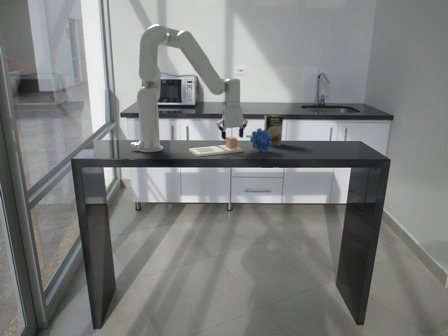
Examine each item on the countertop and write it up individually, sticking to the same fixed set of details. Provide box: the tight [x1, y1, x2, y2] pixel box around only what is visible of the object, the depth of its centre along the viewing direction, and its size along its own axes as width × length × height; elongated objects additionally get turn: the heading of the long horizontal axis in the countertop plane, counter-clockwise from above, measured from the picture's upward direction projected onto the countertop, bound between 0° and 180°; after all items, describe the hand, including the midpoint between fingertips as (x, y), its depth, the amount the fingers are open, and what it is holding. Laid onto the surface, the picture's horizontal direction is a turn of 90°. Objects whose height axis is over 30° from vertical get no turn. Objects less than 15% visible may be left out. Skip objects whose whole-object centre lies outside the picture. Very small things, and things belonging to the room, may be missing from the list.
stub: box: [218, 136, 243, 154], centre depth 182 cm, size 8×12×6 cm, turn 25°
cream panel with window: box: [188, 145, 229, 157], centre depth 177 cm, size 16×12×1 cm
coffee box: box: [263, 114, 284, 147], centre depth 193 cm, size 9×6×16 cm
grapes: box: [249, 127, 273, 153], centre depth 177 cm, size 12×7×12 cm, turn 102°
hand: (232, 138), depth 181 cm, fingers open, 9 cm apart
